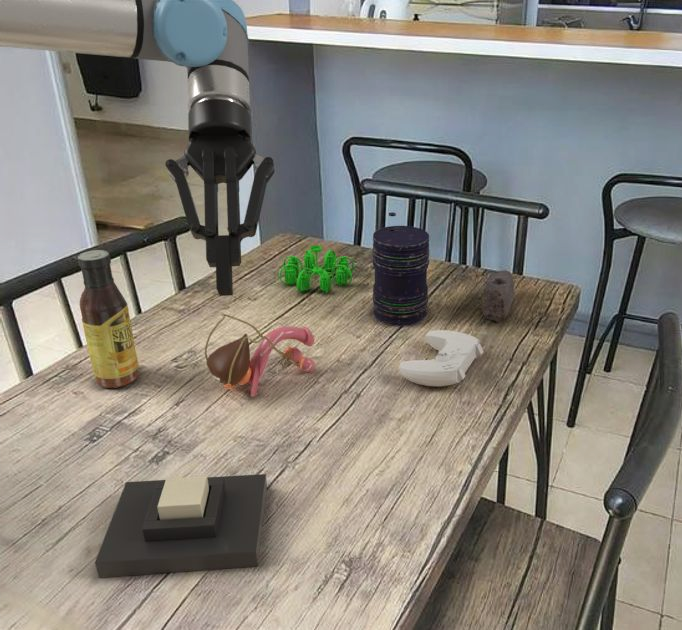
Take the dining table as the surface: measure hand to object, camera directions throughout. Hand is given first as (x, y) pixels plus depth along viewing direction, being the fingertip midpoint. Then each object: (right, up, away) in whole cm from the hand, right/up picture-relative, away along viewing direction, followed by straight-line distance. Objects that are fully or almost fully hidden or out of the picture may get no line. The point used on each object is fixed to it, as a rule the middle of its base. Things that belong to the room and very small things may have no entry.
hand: (224, 291), depth 79 cm
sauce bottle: (-23, -12, +24) cm, 35 cm away
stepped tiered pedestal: (-3, -27, -3) cm, 27 cm away
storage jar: (+19, -3, +44) cm, 48 cm away
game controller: (+26, -11, +28) cm, 40 cm away
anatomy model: (-1, -13, +24) cm, 27 cm away
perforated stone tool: (+37, -2, +47) cm, 60 cm away
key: (-3, -23, -4) cm, 24 cm away
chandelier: (+2, +4, +56) cm, 56 cm away
